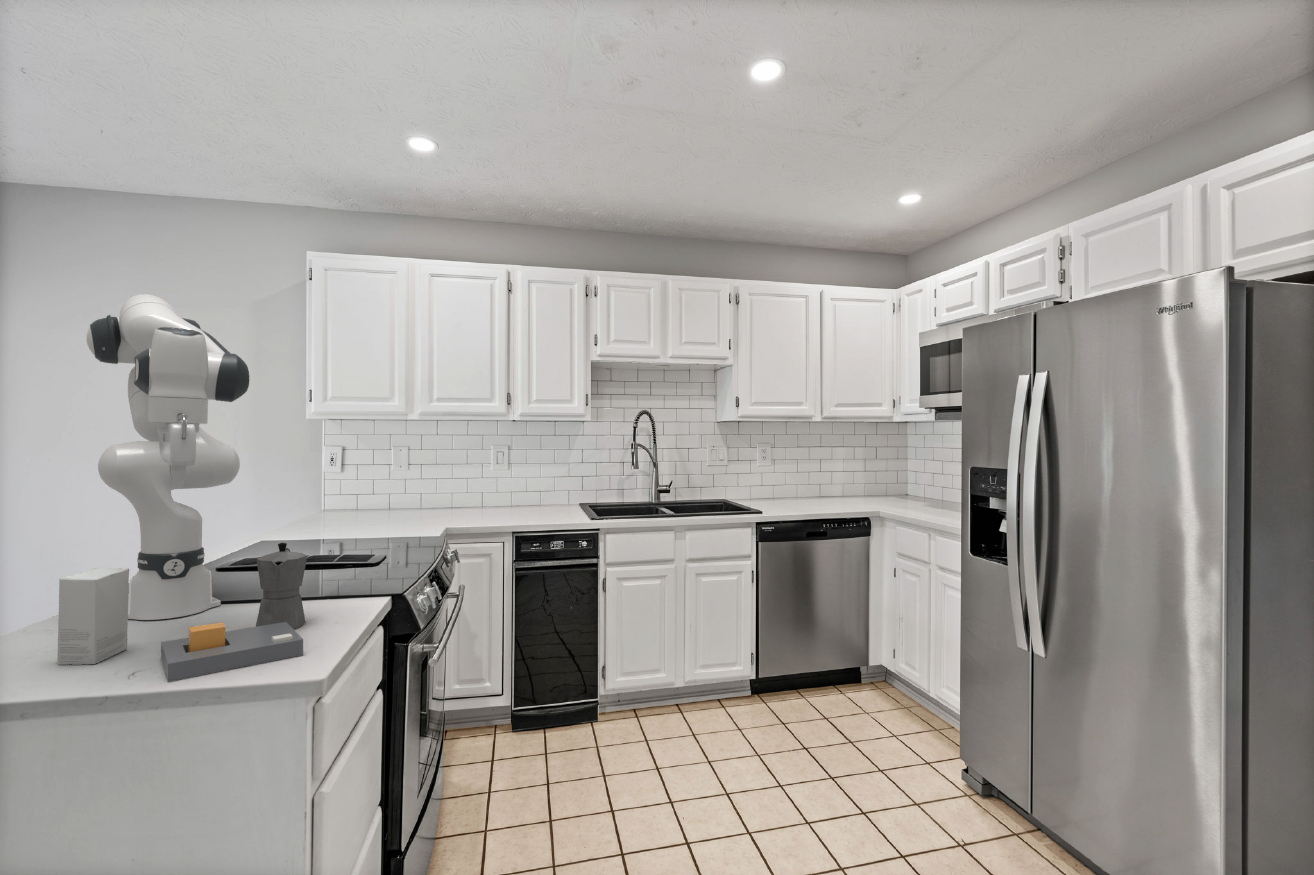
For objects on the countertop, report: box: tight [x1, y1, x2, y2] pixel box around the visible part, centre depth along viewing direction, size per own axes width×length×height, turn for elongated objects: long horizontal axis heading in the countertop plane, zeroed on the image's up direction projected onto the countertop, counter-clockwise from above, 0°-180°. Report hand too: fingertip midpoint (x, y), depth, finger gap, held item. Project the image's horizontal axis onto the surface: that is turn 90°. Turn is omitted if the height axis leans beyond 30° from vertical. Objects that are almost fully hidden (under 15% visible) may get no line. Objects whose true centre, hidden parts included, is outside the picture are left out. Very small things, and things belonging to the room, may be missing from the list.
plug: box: [188, 621, 226, 652], centre depth 112 cm, size 4×5×6 cm
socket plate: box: [160, 622, 304, 683], centre depth 115 cm, size 14×20×4 cm
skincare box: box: [56, 567, 130, 666], centre depth 113 cm, size 8×7×16 cm
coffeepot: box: [255, 542, 308, 630], centre depth 134 cm, size 15×9×18 cm, turn 25°
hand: (177, 488), depth 116 cm, fingers closed
